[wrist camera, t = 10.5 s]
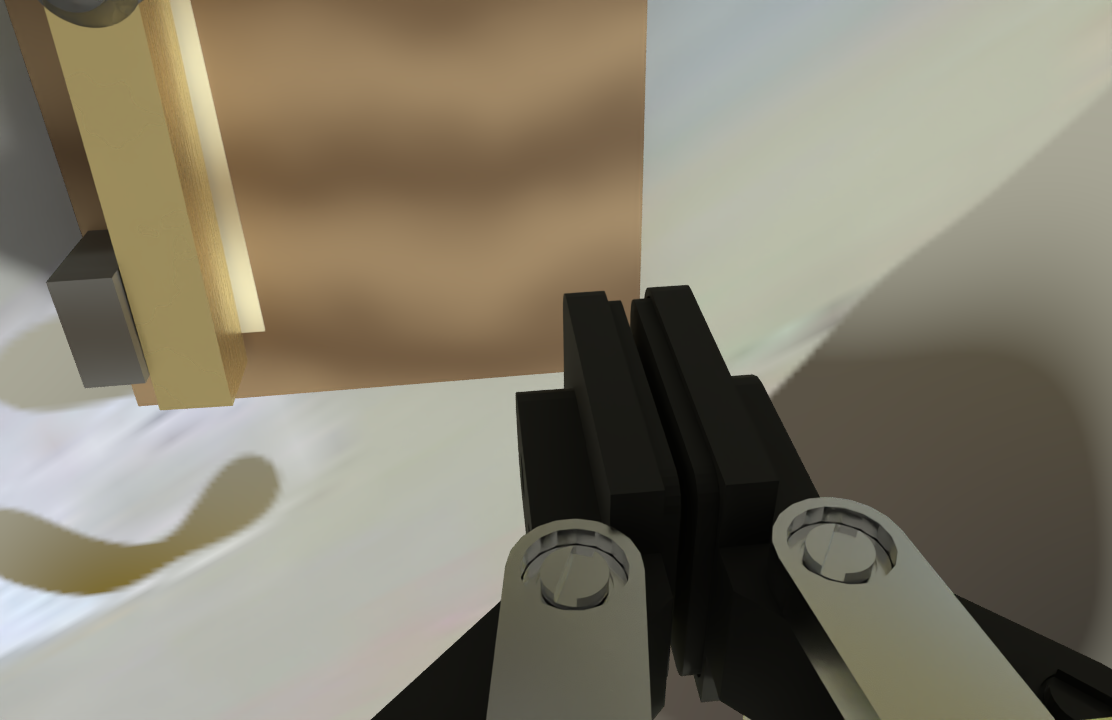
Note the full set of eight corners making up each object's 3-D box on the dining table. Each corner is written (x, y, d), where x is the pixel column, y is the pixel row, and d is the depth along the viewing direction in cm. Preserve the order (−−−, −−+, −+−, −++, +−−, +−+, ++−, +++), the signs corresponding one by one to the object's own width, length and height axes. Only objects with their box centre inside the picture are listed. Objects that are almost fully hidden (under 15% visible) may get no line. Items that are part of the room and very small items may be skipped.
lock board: (-14, -147, 27) (-116, -134, 22) (639, -170, 29) (681, -162, 24) (152, 378, 38) (107, 470, 32) (629, 341, 39) (657, 422, 34)
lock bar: (41, -110, 26) (-18, -96, 23) (157, -112, 26) (115, -98, 23) (171, 365, 34) (141, 427, 31) (257, 360, 35) (237, 421, 31)
